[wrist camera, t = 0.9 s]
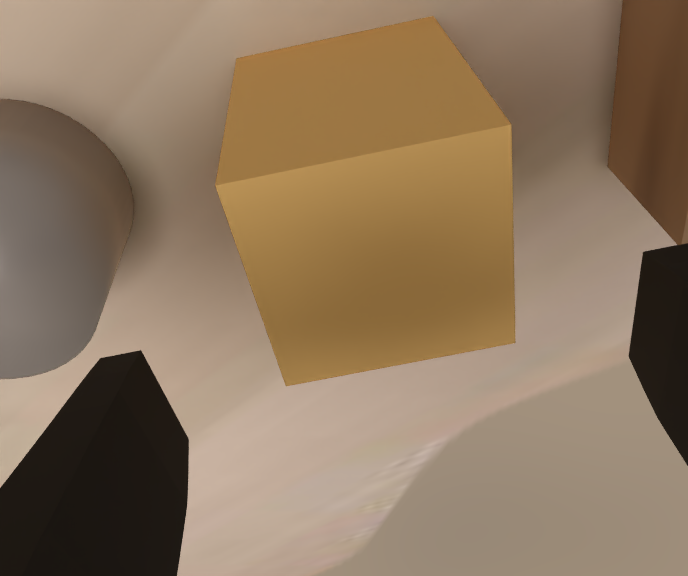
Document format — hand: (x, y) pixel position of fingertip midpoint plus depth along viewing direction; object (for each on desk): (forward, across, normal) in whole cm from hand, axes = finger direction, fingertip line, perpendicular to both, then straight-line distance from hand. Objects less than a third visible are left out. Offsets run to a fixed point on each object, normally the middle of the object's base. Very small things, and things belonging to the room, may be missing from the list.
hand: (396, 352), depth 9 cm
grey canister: (+8, +8, 0) cm, 11 cm away
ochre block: (+8, 0, 0) cm, 8 cm away
